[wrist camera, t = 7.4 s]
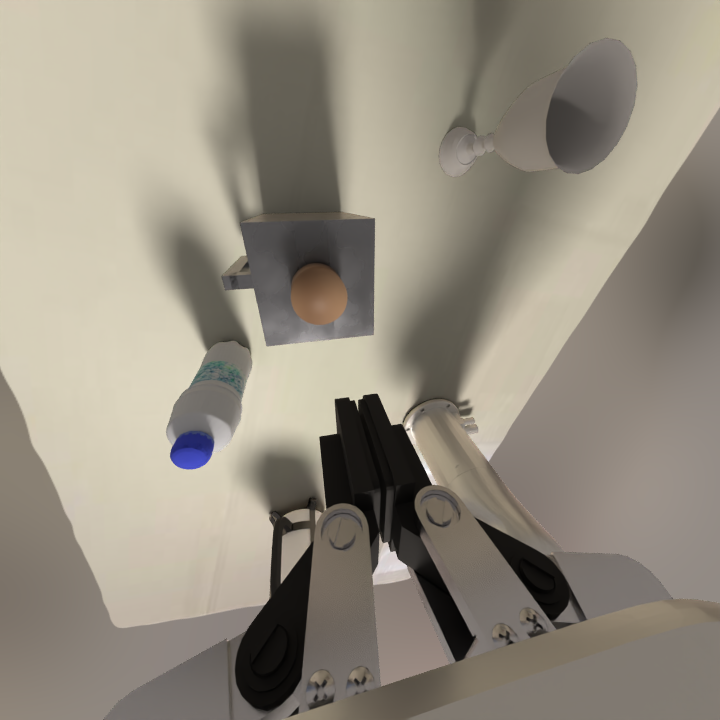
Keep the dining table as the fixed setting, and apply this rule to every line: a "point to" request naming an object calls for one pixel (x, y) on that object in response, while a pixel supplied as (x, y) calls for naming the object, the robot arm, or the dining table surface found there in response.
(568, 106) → the chalice
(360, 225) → the grey peg holder block
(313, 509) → the coffee press
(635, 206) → the dining table surface
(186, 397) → the bottle
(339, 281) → the plunger
